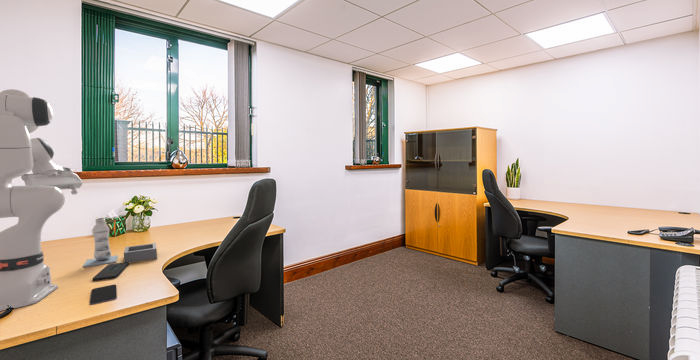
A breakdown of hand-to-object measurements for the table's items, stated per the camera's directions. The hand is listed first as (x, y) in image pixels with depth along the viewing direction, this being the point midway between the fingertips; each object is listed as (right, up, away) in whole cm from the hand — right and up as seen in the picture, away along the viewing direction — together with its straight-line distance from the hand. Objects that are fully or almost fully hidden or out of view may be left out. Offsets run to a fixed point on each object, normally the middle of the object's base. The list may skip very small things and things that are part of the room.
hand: (63, 194), depth 143 cm
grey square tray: (+29, -32, +11) cm, 44 cm away
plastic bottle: (+13, -32, +6) cm, 35 cm away
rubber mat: (+13, -32, +5) cm, 35 cm away
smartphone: (+45, -35, -34) cm, 66 cm away
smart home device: (+30, -34, -10) cm, 46 cm away
